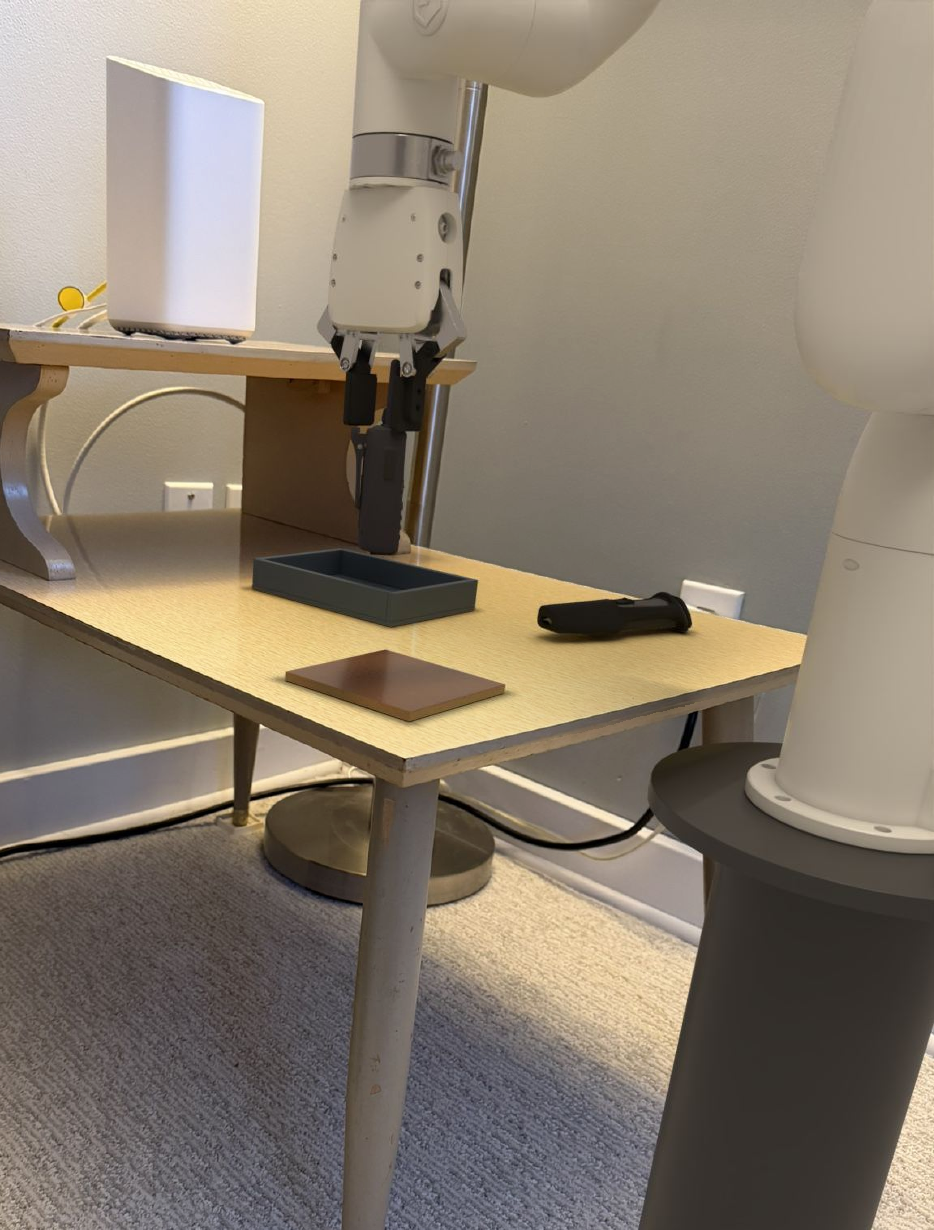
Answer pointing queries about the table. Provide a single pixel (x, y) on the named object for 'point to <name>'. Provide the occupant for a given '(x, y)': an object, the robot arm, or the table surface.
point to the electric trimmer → (616, 615)
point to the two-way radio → (380, 480)
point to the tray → (365, 586)
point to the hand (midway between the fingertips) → (381, 425)
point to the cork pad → (395, 684)
